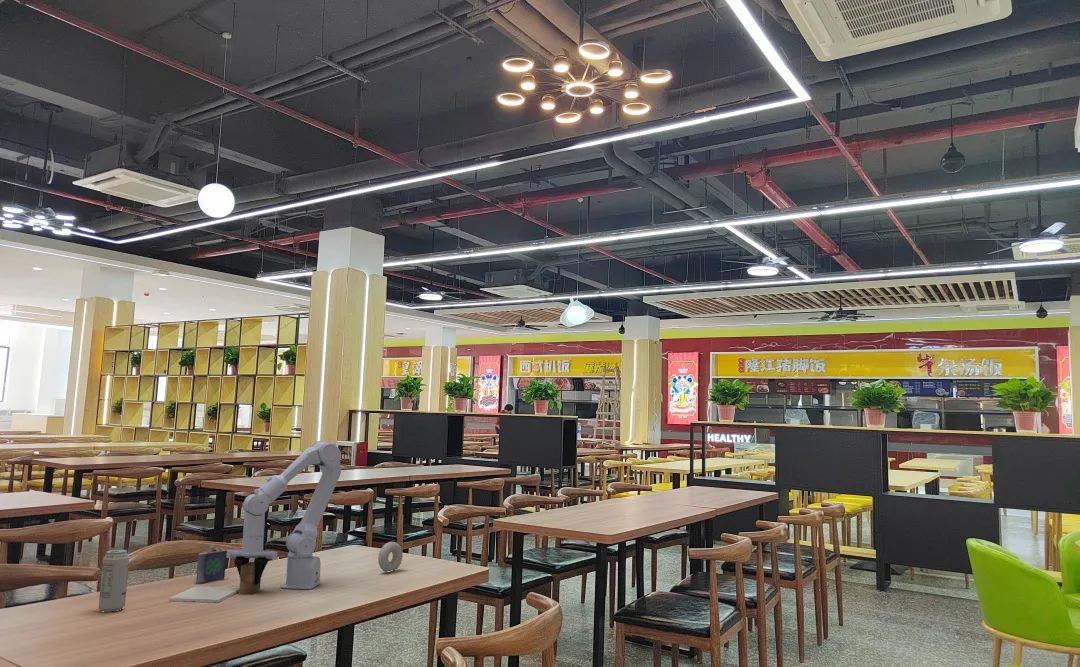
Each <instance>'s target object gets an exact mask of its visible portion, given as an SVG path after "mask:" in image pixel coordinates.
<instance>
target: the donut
mask: <svg viewBox="0 0 1080 667" xmlns="http://www.w3.org/2000/svg"><path fill="white" fill-rule="evenodd" d="M391 553H392V558H391V560H389V557H390V554H391ZM377 559H378V565H379V568H380V569H381V570H382V571H383V572H385V571H391V570H395V569H396V570H398V568H399V567H400V565H401V564H402V561H403V550H402V547H401V545H400V544H399V543H398V542H396V541H388V542H385V544H383V545H382V547H381V548H380V550H379V553H378V557H377ZM396 570H395V571H396Z"/></svg>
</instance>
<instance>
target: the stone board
mask: <svg viewBox="0 0 1080 667" xmlns="http://www.w3.org/2000/svg"><path fill="white" fill-rule="evenodd" d="M239 590H240V587H222V586H219V587H218V586H194V587H191V588H188V589H186V590H184V591H182V592H180V593H177V594H174V595H172V596H170V597H168V602H184V601H190V602H191V601H195V602H194V603H214V602H216V604H217V603H220V602H222V601H224V600H227V599H228V598H230V597H232V596H234V595H236V594H239ZM191 603H192V602H191Z"/></svg>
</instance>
